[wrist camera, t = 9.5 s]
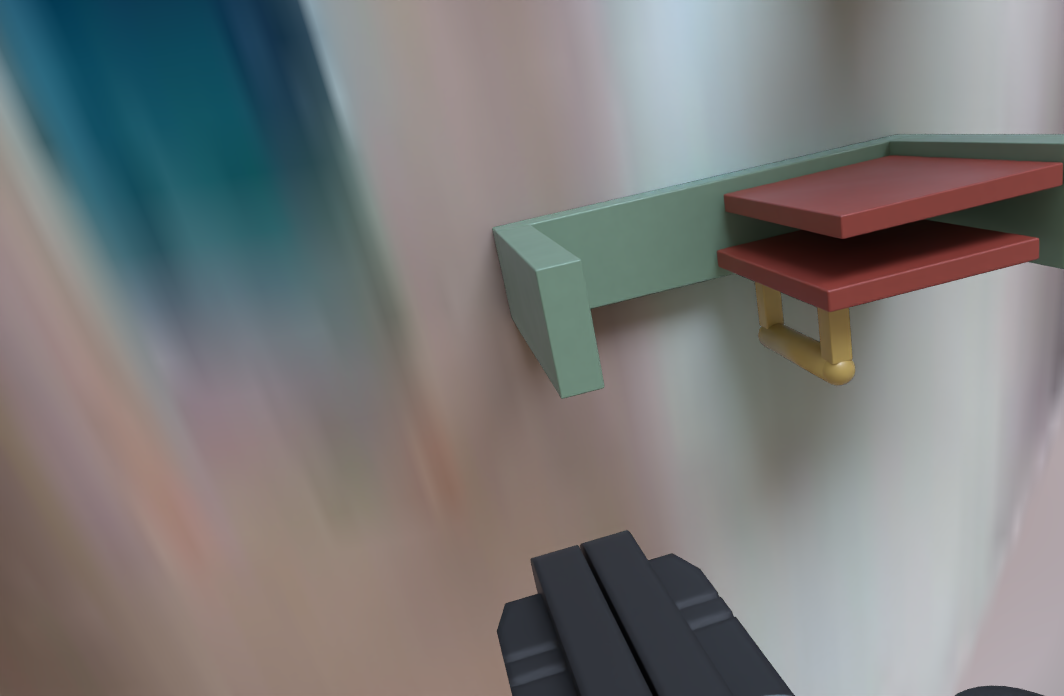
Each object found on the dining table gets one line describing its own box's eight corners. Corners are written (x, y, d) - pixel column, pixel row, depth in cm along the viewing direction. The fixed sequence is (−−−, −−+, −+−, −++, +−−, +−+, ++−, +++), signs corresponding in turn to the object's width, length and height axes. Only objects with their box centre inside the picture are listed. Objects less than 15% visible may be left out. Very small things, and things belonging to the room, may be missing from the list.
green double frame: (901, 224, 37) (1101, 260, 26) (512, 319, 35) (561, 399, 24) (897, 134, 35) (1106, 134, 25) (491, 227, 33) (534, 270, 23)
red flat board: (882, 297, 36) (1039, 349, 27) (726, 336, 35) (836, 404, 26) (877, 211, 34) (1040, 237, 26) (715, 250, 33) (827, 290, 25)
